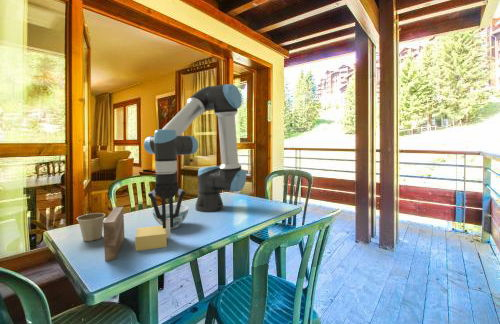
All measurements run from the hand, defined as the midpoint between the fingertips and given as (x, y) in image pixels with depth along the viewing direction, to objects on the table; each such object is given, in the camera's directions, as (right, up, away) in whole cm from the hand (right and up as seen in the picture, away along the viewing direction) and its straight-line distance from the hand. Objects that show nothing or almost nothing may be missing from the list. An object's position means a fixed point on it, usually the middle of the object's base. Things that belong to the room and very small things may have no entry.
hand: (168, 236), depth 96 cm
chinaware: (-4, -1, +18) cm, 18 cm away
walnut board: (-17, -3, -5) cm, 18 cm away
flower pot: (-30, -2, +4) cm, 31 cm away
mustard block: (-6, -2, -1) cm, 6 cm away
